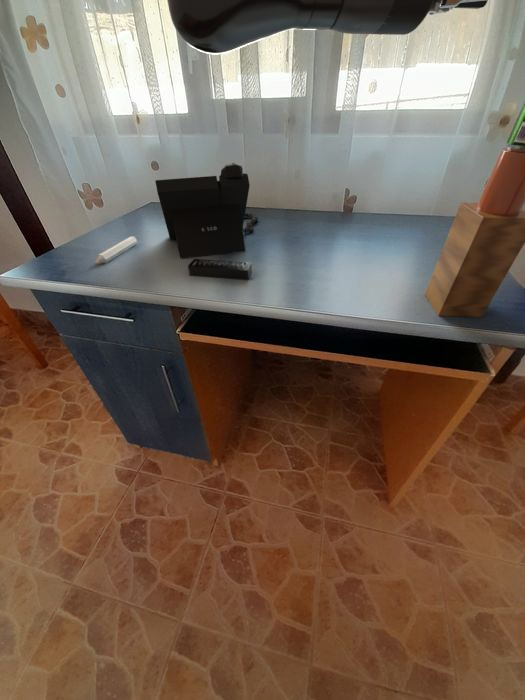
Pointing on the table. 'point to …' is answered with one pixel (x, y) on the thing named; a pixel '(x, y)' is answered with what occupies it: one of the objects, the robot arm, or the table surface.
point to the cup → (505, 185)
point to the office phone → (207, 212)
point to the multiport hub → (220, 269)
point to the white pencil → (116, 250)
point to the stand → (474, 261)
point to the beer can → (517, 134)
